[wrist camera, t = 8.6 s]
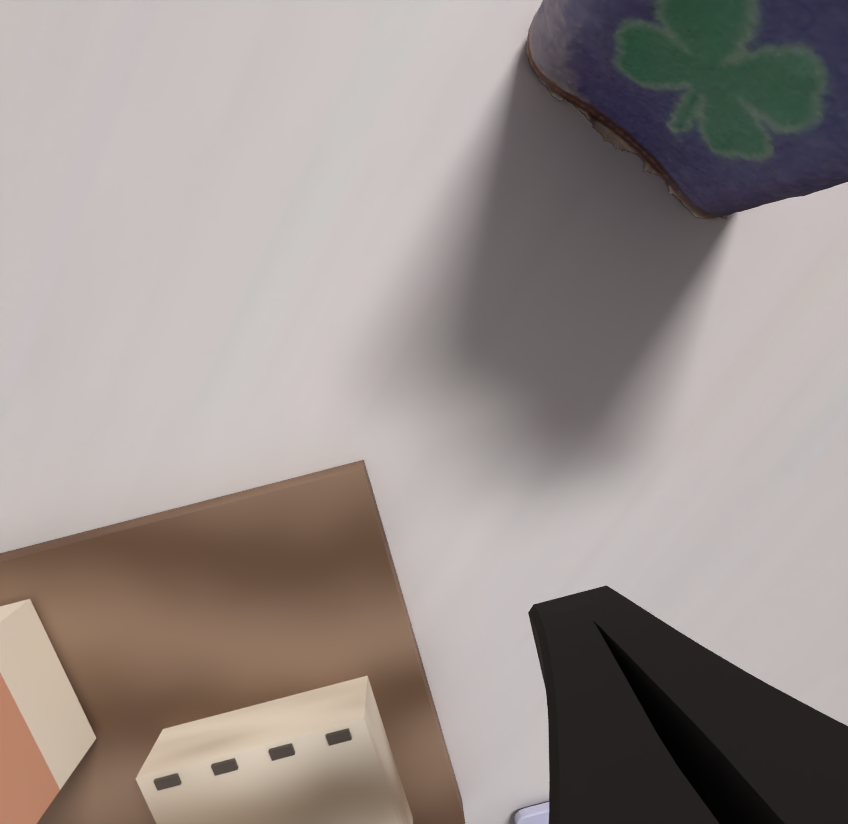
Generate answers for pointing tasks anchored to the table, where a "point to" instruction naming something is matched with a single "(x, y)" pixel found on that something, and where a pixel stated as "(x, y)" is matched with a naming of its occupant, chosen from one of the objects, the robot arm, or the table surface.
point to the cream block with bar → (35, 718)
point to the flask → (708, 91)
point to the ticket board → (242, 663)
